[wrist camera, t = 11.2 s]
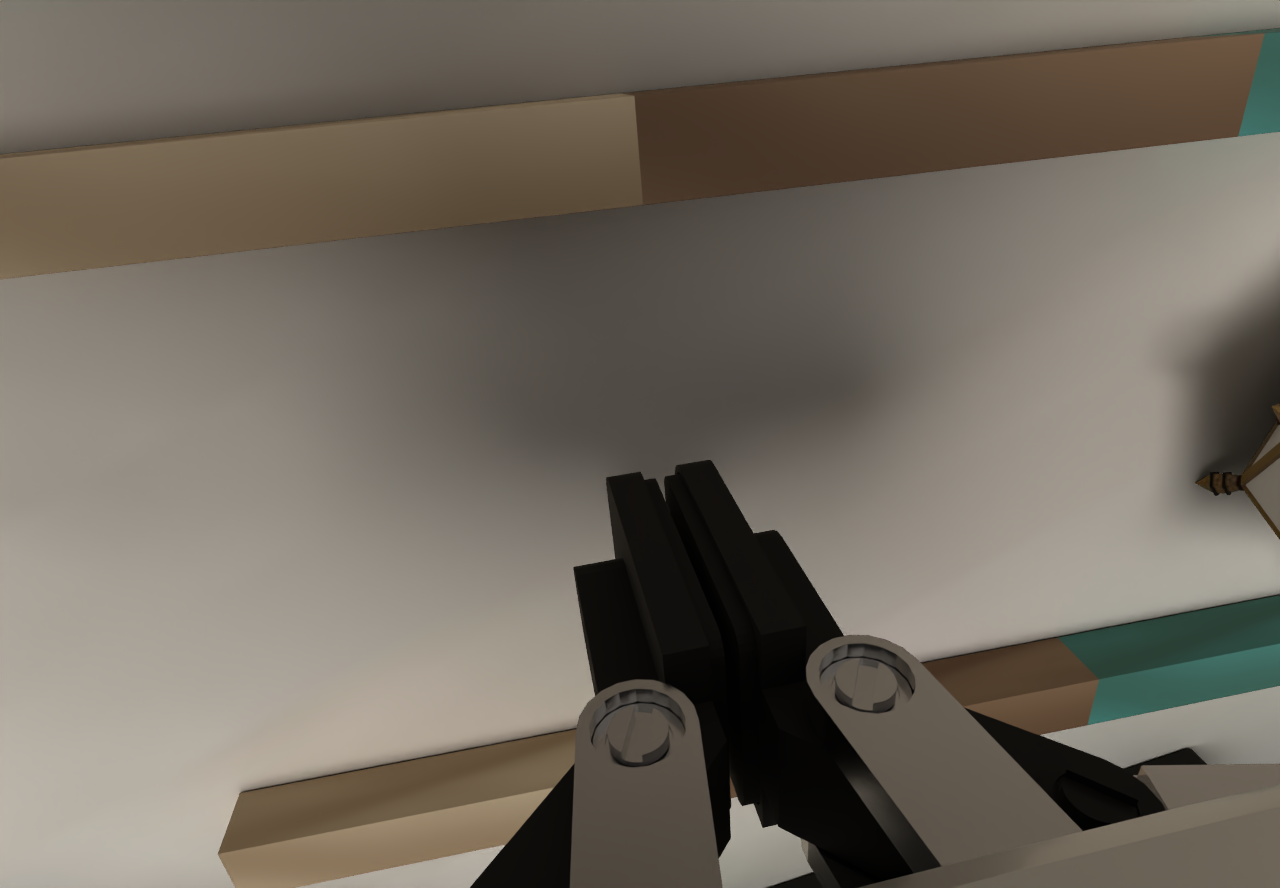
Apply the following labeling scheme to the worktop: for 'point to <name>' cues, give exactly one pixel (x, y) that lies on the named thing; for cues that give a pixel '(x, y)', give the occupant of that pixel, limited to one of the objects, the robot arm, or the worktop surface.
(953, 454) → the worktop surface
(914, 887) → the robot arm
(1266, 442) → the game die
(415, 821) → the pair of wooden rods
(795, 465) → the worktop surface
